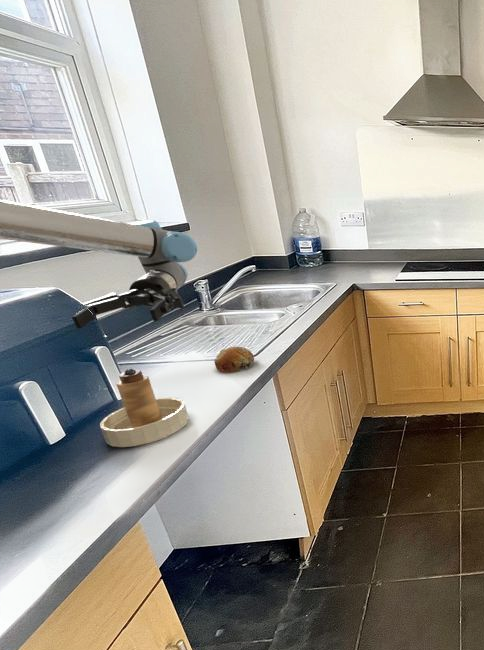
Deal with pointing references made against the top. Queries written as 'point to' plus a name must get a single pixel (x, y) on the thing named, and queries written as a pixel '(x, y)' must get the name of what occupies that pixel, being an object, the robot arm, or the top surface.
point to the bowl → (124, 435)
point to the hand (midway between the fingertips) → (115, 319)
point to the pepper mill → (138, 398)
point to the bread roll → (234, 359)
